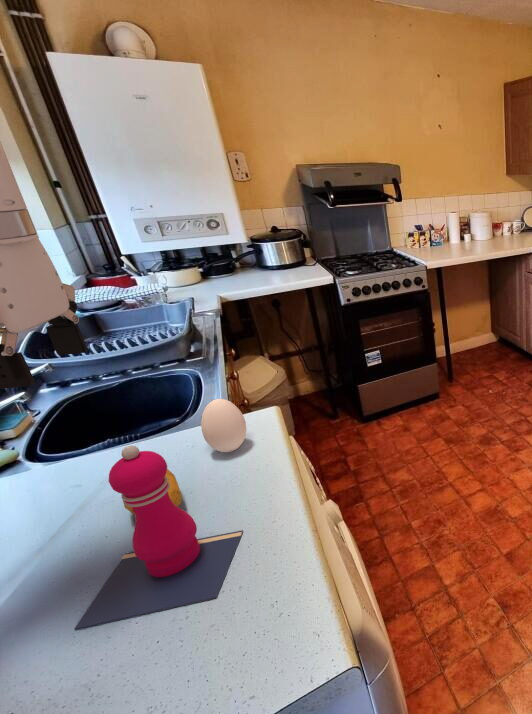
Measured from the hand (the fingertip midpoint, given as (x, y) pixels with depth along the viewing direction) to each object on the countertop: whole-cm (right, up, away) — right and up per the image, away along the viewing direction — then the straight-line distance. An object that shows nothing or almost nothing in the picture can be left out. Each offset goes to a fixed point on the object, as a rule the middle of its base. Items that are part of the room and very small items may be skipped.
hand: (47, 368), depth 54 cm
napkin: (+9, -30, +8) cm, 33 cm away
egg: (0, -20, +36) cm, 41 cm away
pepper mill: (+8, -29, +10) cm, 32 cm away
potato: (-3, -26, +21) cm, 33 cm away
